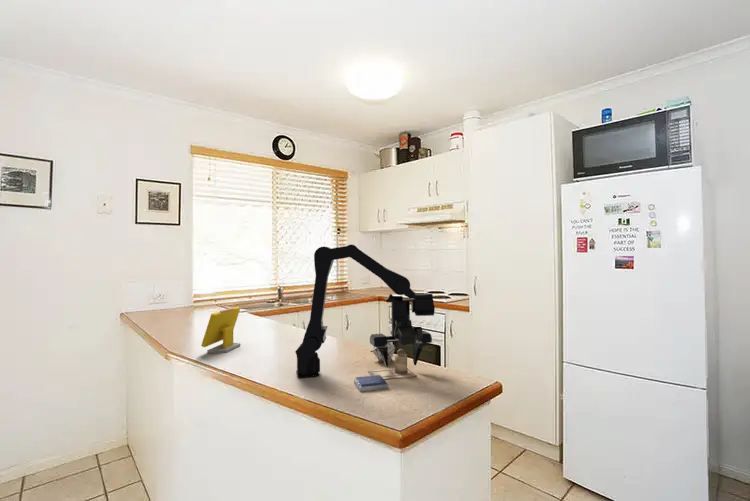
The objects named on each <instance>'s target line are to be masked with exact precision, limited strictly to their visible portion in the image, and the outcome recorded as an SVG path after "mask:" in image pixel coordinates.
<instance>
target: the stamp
mask: <svg viewBox="0 0 750 501" xmlns="http://www.w3.org/2000/svg"><path fill="white" fill-rule="evenodd" d="M394 368H395V373H396V374H406V373H408V369H409V368H408V355H407V354H406V351H405V350H404V349H403V348H398V350H397V351H396V354H394ZM407 368H408V369H407Z"/></svg>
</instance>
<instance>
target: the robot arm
mask: <svg viewBox="0 0 750 501" xmlns="http://www.w3.org/2000/svg"><path fill="white" fill-rule="evenodd" d="M347 258H351V259H352V260H354V261H355V262H357V263H358V264H359V265H361V266H362V267H363V268H365V269H367V270H368V271H369V272H371V273H372V274H374V275H375V276H377V277H378V278H379V279H381V280H382V282H383V283H384V284H385V285H386V286H387V287H388V288H389V289H390V290H391V291H392V292H393V293H394V294H396V295H392V293H389V295H387V297H386V298H385V299H384V300H385V302H387V303H391V304H390V305H391V306H390V307H391V310H390V311H391V318H390V322H391V331H390V335H385V334H383V333H371V335H370V336H369V344H370V345H372V346H373V348H374V347H376V348H378V349H379V351H380V353H381V355H382V358H383V360H382V361H383V363H384V365H385V369H389V360H388V354H387V350H388V347H387V346H386V344H387V343H388V342H391V343H397V342H399V343H400V344H401V346H407V345H412V362H413V365H414V366H417V363H418V361H419V358H420V356H421V353H422V350H423V349H424V348H425V346H428V345H429V344H431V343H433V339H432V338H433V337H432V334H431V333H430V332H428V331H425V330H423V328H422V326H414V327H413V325H412V324H413V323H412V320H411V316H410V314H411V313H413V314H414V315H415V317H416V316H417V317H420V316H421V317H426V316H431V317H432V316H433V317H434V315H435V310H436V308H435V303H434V295H433V294H432V293H425V294H423V293H422V294H419V293H418V294H416V293H415V291H414V290H412V289H411V282H410V280H409V279H408V278H407V277H405V276H403V275H401V274H400V273H397V272H395V271H392V270H390V269H389V268H386V266H384V265H383V264H381V263H379V262H378V261H377V260H376V259H373V257H371V256H370V255H368V254H366V253H365V252H363V251H362V250H360V249H359V248H358V247H357V246H356V245H355V244H348V245H345V246H339V247H338V246H337V247H334V248H331V247H328V246H319V247H318V248H316V249H315V251H314V254H313V262H314V265H313V266H314V272H315V280H314V286H313V293H312V294H313V295H312V301H311V308H310V309H311V310H310V317H309V321H308V324H307V326H306V329H305V333H304V335H303V339H302V343H301V344H299V346H298V348H297V349H296V350H295V351H294V352H295V355H296V371H295V373H296V377H297V378H298V379H300V378H301V379H302V378H313V377H320V373H321V359H320V357H319V354H318V352H317V351H319V350H320V349H321V347H322V345H323V344H324V343H325V341H326V340H327V335H326V333H327V330H328V325H324V320H323V319H324V311H325V303H326V297H327V296H326V295H327V288H328V280H329V276H330V273H331V270H332V267H333V265H334V262H335V261H336V260H341V259H347ZM403 296H405V297H406V298H404V297H403ZM410 303H411V306H410ZM410 307H411V308H410ZM410 311H411V312H410Z"/></svg>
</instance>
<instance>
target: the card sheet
mask: <svg viewBox="0 0 750 501" xmlns="http://www.w3.org/2000/svg"><path fill="white" fill-rule="evenodd" d="M407 369H408V373H406V374H396V373H395V367H393V368H382V369H372V370H367V373H368V374H369V376H375V375H380V376H381V377H382V378H383V379H384V380H385V381H386V380H395V379H404V378H413V377H418V375H417V374H416V373H415V372H413V371H411V369H410V368H409V367H407Z"/></svg>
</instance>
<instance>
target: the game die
mask: <svg viewBox="0 0 750 501" xmlns="http://www.w3.org/2000/svg"><path fill="white" fill-rule="evenodd" d="M386 346H387V347H388V350H387V354H388V361H389V360H390V361H391V362H394V361H393V356H394V353H395V351H396V349H399V348H398V346H395V345H394V344H393V342H388V343H387V344H386ZM370 353H373V354H374V356H375V357H376V358H377V360H378V361H377V363H380V362H381V361H384V360H383V358H382V355H381V353H380V351H379V349H378V348H376V347H374V346H373V349H372V350H371V351H370Z"/></svg>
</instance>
